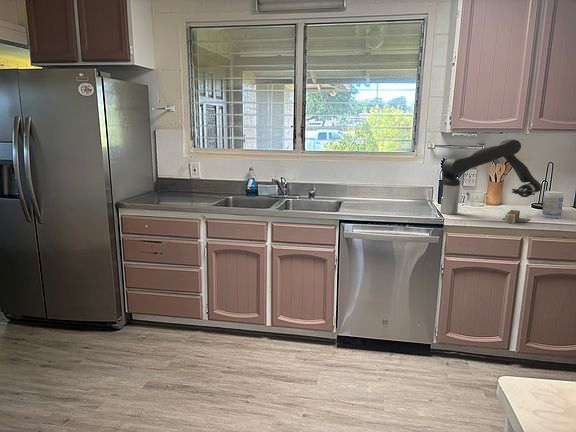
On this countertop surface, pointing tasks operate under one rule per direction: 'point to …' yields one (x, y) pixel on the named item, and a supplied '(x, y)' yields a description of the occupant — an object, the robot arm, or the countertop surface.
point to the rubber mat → (521, 220)
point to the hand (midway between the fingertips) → (520, 193)
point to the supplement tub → (552, 204)
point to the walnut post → (512, 216)
